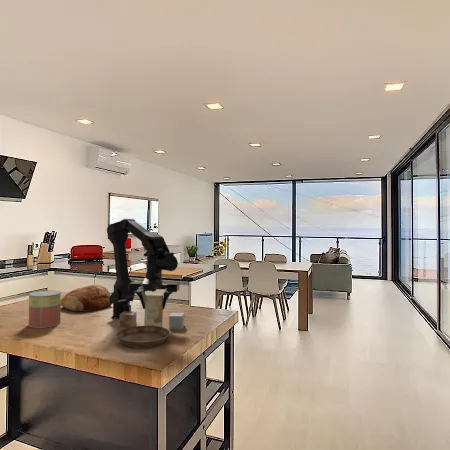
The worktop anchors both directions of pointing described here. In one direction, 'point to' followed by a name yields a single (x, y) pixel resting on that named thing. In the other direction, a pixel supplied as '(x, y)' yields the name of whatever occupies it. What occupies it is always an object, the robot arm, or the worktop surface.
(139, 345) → the plant saucer
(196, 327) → the worktop surface
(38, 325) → the canned food
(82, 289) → the bread
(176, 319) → the slate grey block
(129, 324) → the walnut block
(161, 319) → the skincare box
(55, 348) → the worktop surface
